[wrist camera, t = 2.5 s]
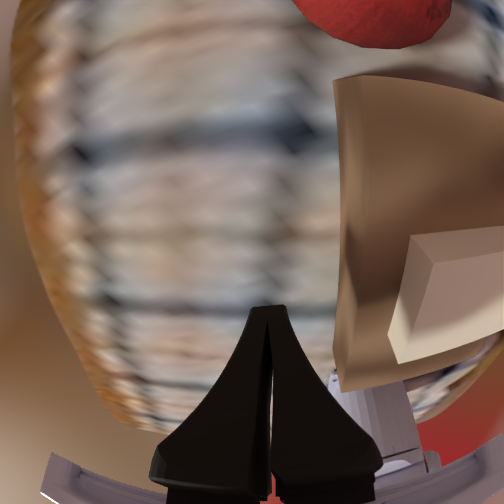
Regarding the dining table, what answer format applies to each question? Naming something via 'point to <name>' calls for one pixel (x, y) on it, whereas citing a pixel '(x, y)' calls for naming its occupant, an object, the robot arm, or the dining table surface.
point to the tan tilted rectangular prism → (449, 292)
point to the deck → (405, 205)
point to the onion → (377, 20)
